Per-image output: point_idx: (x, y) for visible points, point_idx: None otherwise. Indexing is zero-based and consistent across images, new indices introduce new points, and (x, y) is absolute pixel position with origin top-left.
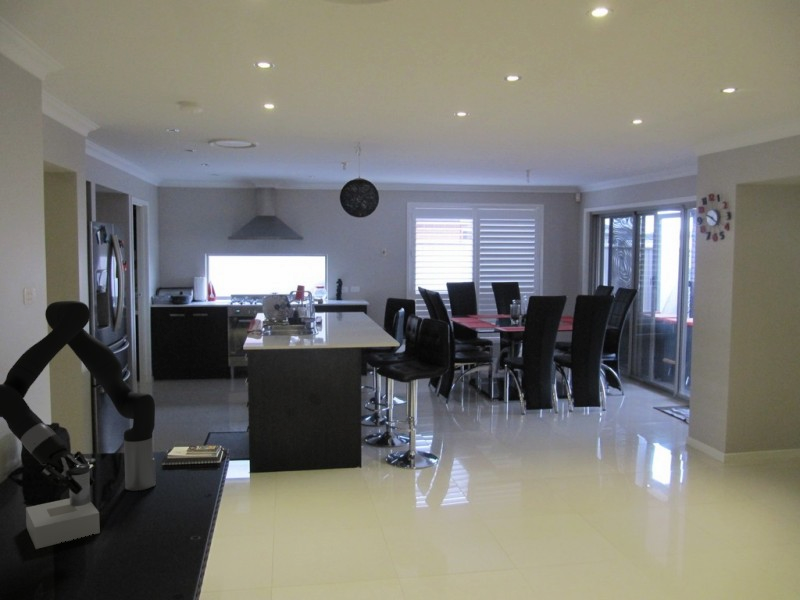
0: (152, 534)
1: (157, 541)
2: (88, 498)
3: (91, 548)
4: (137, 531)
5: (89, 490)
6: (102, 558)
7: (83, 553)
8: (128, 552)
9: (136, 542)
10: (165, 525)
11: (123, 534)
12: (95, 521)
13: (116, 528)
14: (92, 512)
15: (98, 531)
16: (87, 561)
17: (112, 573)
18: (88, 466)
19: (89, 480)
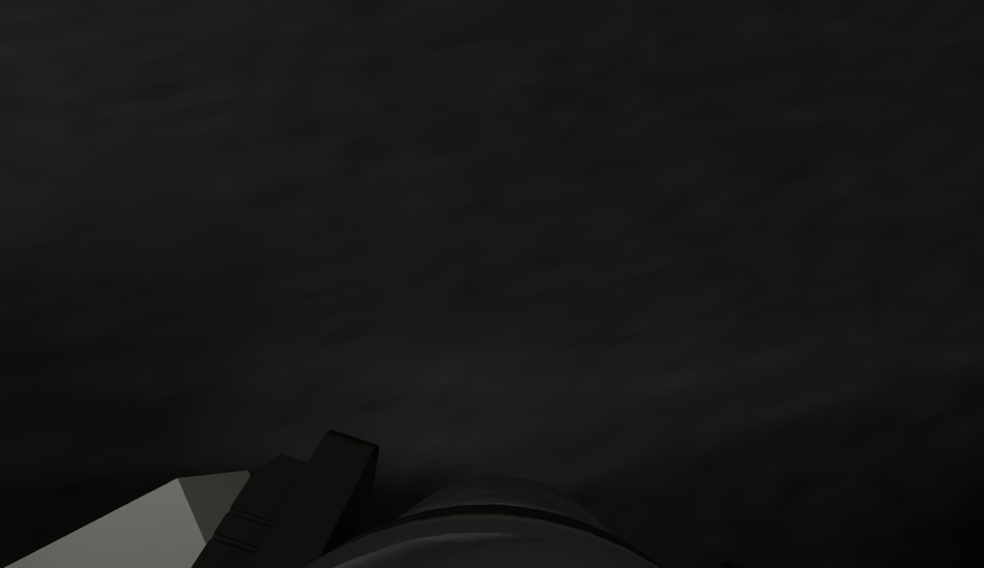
0: (369, 62)
1: (504, 4)
2: (544, 486)
3: (527, 456)
4: (282, 182)
5: (504, 485)
6: (722, 321)
7: (608, 492)
8: (652, 161)
9: (489, 144)
10: (222, 3)
11: (314, 275)
12: (223, 506)
13: (175, 361)
14: (153, 552)
15: (247, 480)
16: (755, 418)
17: (971, 188)
18: (529, 528)
19: (482, 496)
